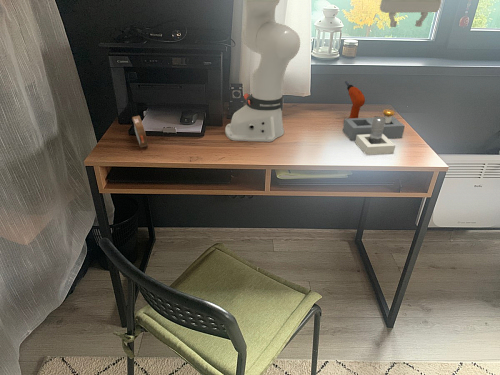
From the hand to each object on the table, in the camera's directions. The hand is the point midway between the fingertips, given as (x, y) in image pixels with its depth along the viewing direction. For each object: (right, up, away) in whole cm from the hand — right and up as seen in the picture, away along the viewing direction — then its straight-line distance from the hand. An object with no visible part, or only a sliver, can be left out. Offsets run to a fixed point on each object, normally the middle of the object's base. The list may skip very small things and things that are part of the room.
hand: (405, 26), depth 132 cm
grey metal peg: (-10, -42, +4) cm, 43 cm away
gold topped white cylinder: (-3, -35, +14) cm, 38 cm away
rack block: (-10, -42, +3) cm, 43 cm away
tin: (-93, -40, +4) cm, 101 cm away
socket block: (-8, -36, +13) cm, 39 cm away
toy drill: (-14, -29, +24) cm, 40 cm away
